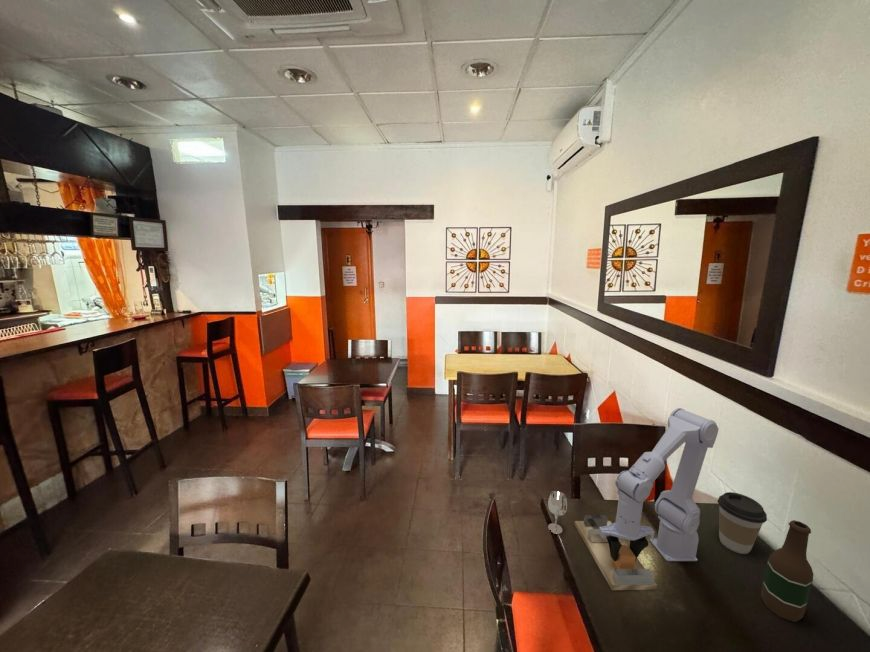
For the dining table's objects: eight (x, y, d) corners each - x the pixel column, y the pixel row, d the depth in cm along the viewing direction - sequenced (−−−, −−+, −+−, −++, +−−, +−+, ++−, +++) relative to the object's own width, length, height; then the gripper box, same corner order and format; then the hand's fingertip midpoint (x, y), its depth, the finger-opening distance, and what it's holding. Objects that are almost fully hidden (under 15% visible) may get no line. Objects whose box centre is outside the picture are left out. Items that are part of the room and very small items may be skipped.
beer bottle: (751, 592, 90) (768, 512, 86) (781, 594, 90) (800, 513, 86) (779, 622, 83) (800, 536, 78) (812, 624, 82) (835, 537, 78)
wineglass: (561, 522, 114) (565, 490, 112) (566, 536, 108) (570, 502, 106) (544, 521, 114) (547, 489, 112) (548, 534, 108) (551, 500, 106)
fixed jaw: (648, 578, 92) (649, 568, 92) (653, 584, 90) (654, 575, 90) (612, 578, 92) (613, 568, 91) (616, 585, 90) (617, 575, 89)
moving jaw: (609, 522, 112) (609, 515, 111) (623, 542, 104) (624, 534, 103) (579, 522, 112) (579, 515, 111) (590, 542, 104) (591, 534, 103)
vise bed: (609, 524, 113) (610, 520, 113) (656, 589, 91) (656, 584, 90) (574, 525, 113) (574, 521, 112) (612, 590, 90) (612, 585, 90)
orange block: (633, 572, 94) (635, 556, 93) (619, 572, 94) (621, 556, 93) (625, 560, 98) (627, 544, 97) (611, 559, 98) (613, 544, 97)
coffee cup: (726, 527, 113) (734, 486, 111) (768, 554, 103) (778, 510, 100) (702, 535, 110) (709, 493, 107) (743, 564, 99) (752, 518, 96)
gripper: (645, 505, 97) (639, 546, 100) (595, 505, 97) (590, 546, 99) (662, 523, 90) (655, 567, 93) (608, 523, 90) (603, 567, 92)
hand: (622, 558), depth 96 cm, fingers open, 5 cm apart
